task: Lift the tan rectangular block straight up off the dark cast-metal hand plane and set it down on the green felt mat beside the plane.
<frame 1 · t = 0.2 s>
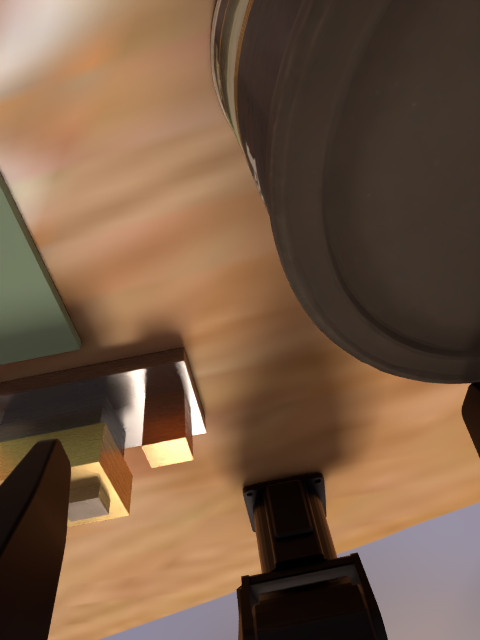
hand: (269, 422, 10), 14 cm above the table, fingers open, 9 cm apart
tan rectangular block: (58, 462, 25), point 4 cm above the table, touching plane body
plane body: (79, 407, 29), on the table
coffee can: (334, 52, 19), on the table
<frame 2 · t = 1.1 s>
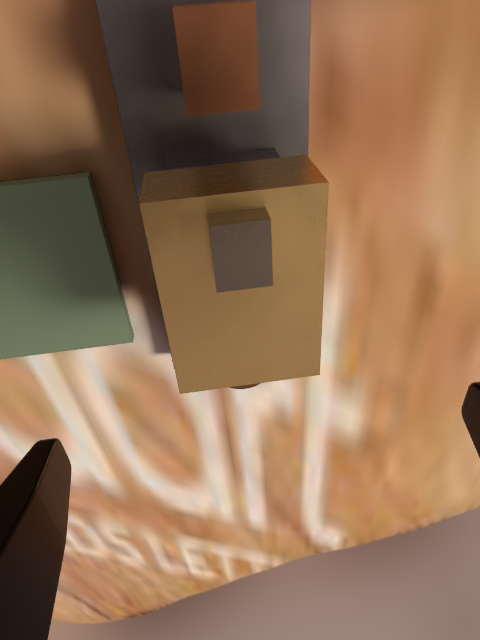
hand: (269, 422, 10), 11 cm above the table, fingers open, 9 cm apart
tan rectangular block: (235, 263, 16), point 4 cm above the table, touching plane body
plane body: (223, 206, 19), on the table
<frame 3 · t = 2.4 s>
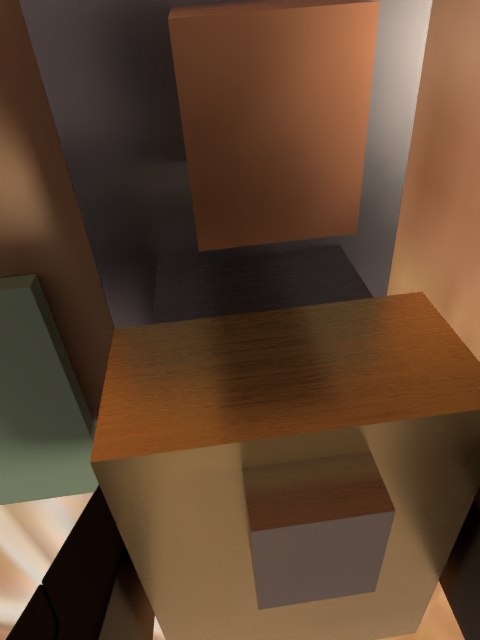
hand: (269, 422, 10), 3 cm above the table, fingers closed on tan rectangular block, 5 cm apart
tan rectangular block: (274, 448, 9), point 4 cm above the table, touching gripper, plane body
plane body: (248, 316, 12), on the table
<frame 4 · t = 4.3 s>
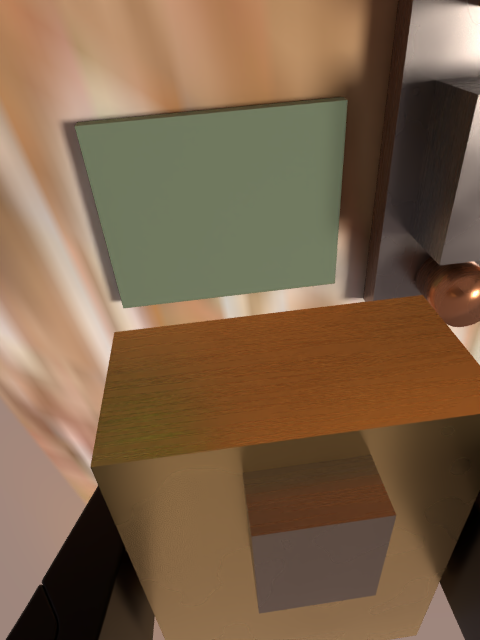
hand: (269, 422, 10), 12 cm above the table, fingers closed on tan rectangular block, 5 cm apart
tan rectangular block: (275, 450, 9), point 13 cm above the table, touching gripper
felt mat: (221, 210, 19), on the table
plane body: (457, 138, 19), on the table
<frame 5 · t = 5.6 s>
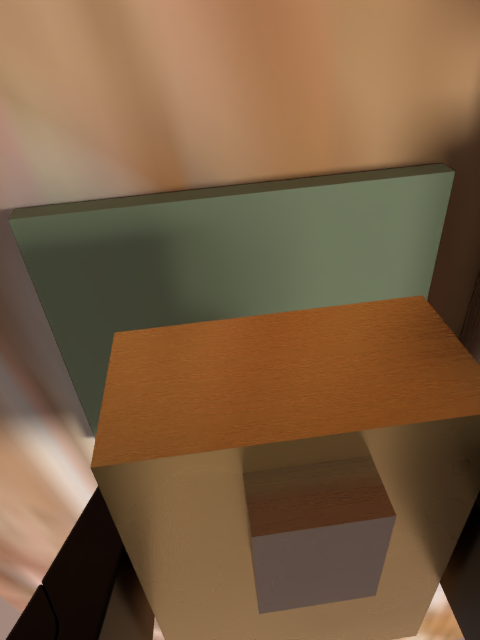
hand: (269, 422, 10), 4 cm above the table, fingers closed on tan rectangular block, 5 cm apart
tan rectangular block: (275, 450, 9), point 4 cm above the table, touching gripper
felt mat: (244, 322, 13), on the table
when the fingers open (1 cm above the table, at t = 6.5 s): tan rectangular block drops 2 cm, resting on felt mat.
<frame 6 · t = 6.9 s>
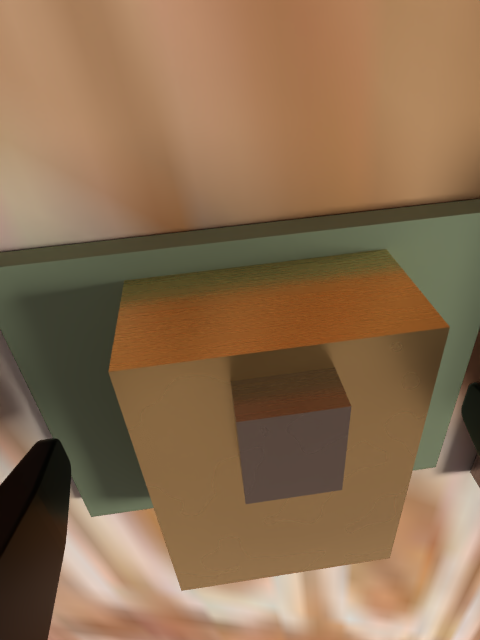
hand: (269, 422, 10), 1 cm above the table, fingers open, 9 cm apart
tan rectangular block: (264, 394, 11), point 1 cm above the table, touching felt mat
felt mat: (258, 375, 11), on the table
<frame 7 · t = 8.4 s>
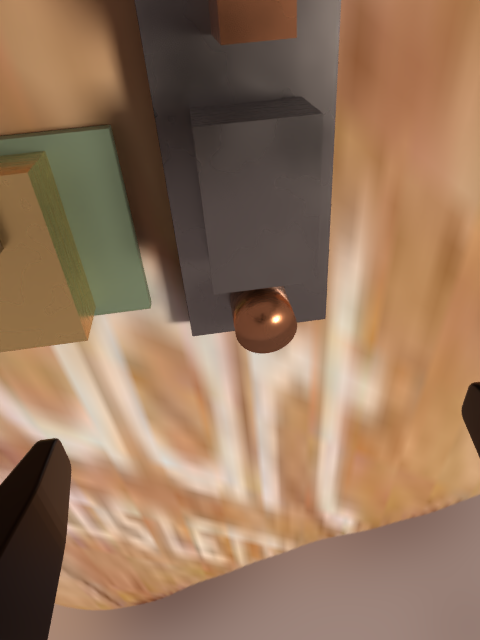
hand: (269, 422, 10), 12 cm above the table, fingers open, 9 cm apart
tan rectangular block: (11, 245, 19), point 1 cm above the table, touching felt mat
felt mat: (14, 237, 19), on the table
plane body: (246, 163, 18), on the table
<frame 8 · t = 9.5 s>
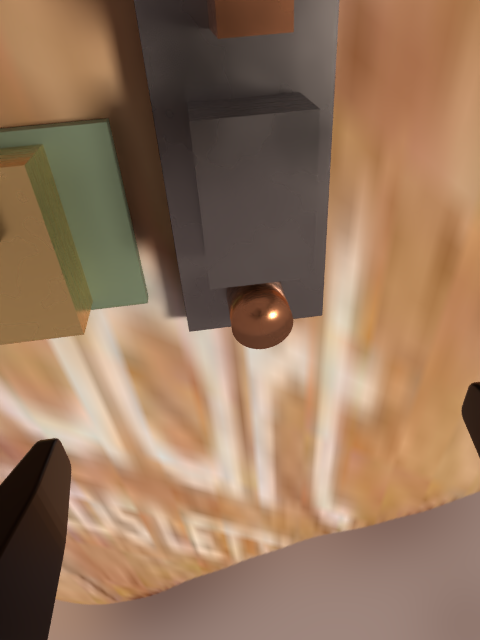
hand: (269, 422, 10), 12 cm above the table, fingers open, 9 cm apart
tan rectangular block: (9, 238, 19), point 1 cm above the table, touching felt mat
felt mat: (11, 231, 19), on the table
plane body: (244, 159, 18), on the table
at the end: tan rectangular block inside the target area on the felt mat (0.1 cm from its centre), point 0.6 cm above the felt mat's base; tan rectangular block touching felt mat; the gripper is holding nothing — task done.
